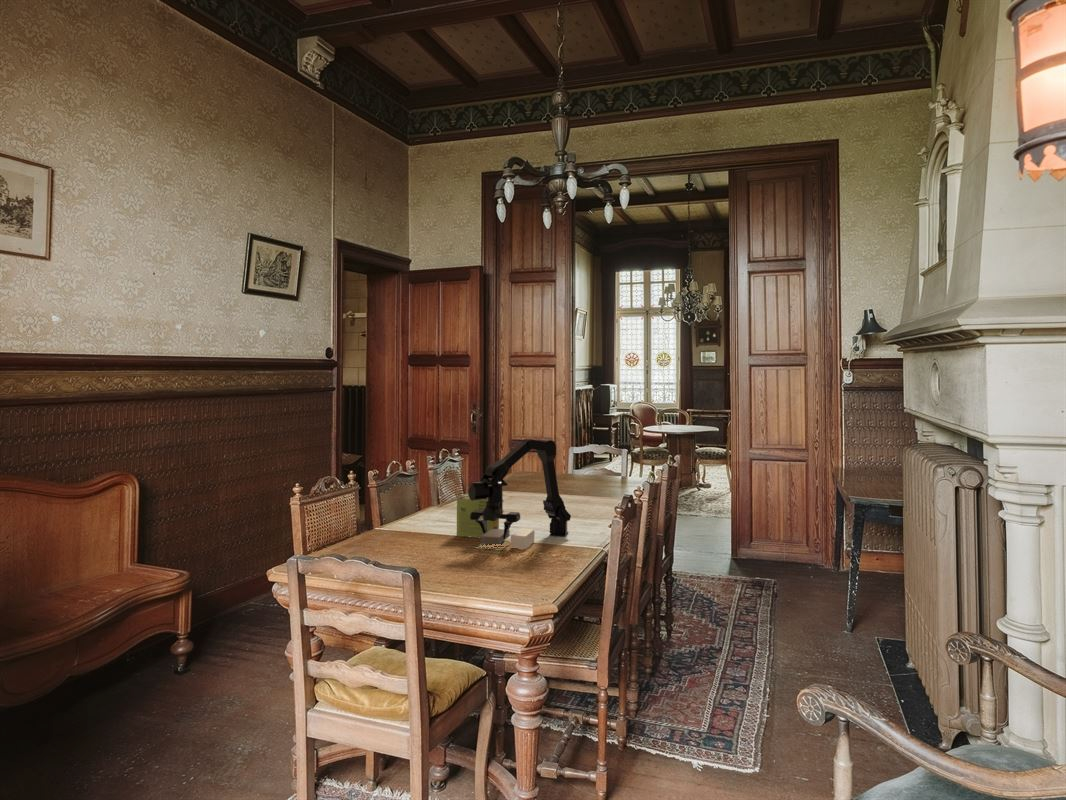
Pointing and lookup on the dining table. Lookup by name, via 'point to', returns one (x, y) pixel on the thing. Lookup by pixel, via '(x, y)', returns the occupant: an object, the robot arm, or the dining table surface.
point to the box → (522, 538)
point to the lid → (494, 536)
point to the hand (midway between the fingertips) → (495, 538)
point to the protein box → (463, 517)
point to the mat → (495, 544)
